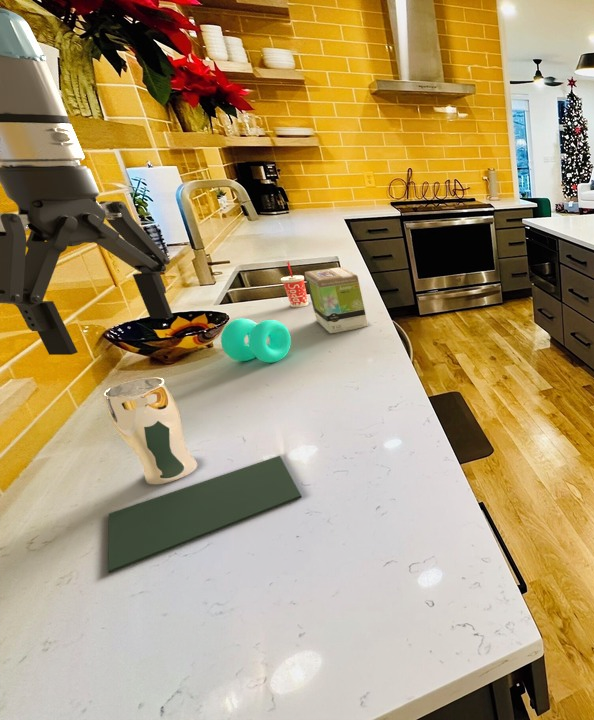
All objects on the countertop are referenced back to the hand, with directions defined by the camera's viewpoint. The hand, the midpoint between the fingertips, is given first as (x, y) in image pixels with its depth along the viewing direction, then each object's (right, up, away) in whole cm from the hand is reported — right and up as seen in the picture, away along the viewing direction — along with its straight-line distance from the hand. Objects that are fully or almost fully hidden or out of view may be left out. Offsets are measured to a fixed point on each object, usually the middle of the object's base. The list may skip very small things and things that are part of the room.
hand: (117, 334), depth 67 cm
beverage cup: (-38, +14, +91) cm, 100 cm away
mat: (+9, -24, +4) cm, 26 cm away
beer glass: (-3, -21, +11) cm, 24 cm away
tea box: (-15, +7, +75) cm, 77 cm away
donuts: (-19, -4, +51) cm, 55 cm away
